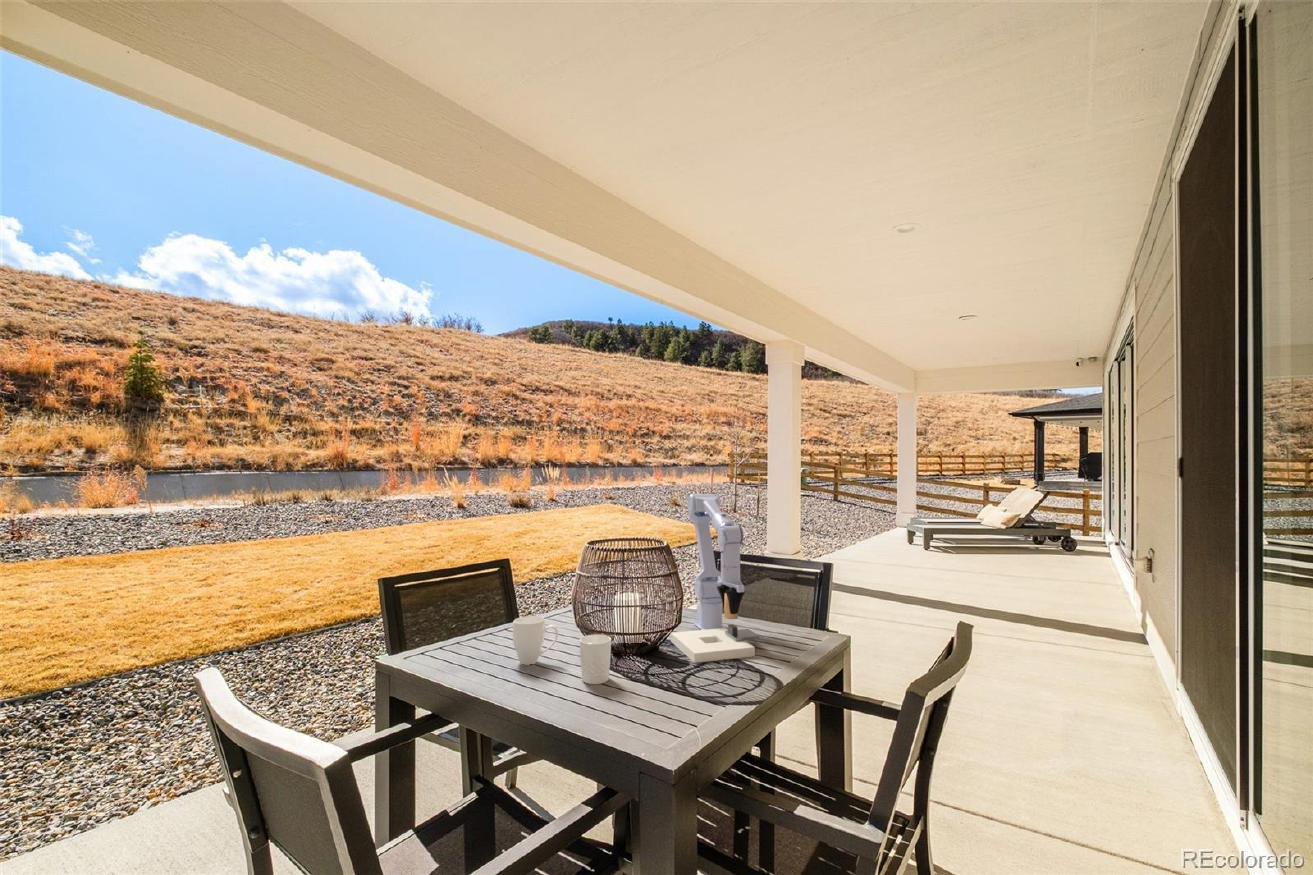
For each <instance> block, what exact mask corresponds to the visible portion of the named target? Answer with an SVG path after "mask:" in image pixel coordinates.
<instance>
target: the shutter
mask: <svg viewBox="0 0 1313 875" xmlns="http://www.w3.org/2000/svg"><path fill="white" fill-rule="evenodd" d="M727 627H728V628H727V629H728V631H725V634H726V635H728V636H729V637H731V638H732V639H734V640H735V641H742V640H745V641H748V640H749V641H750V640H760V639H761V638H760V636H761V635H759V634H758V633H755V632H754V631H752V630H750V629H749V628H743V629H738V626H736V625H735V624H728V625H727Z"/></svg>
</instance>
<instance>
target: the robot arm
mask: <svg viewBox="0 0 1313 875" xmlns="http://www.w3.org/2000/svg"><path fill="white" fill-rule="evenodd" d="M686 504H687V513H688V517H689V518H688V519H689V520H690V521H691V522H693V524H694V529H695V535H696V543H697V549H698V556H699V563H700V570H701V571H700V572H699V573H698V574H696V576H695V578H694V594H695V598H696V599H697V600H698V601H697V604H696V622H694V623H693V625H694V626H696V627H697V628H698V629H699V630H707V629H718V628H726V629H728V628H727V627H725V626H724V625H723V609H724V593H726V594H727V597H728V601H729V609H730V614H739V609H740V606H741V605H740V604H741V601H742V599H743V596H744V595H745V593H746V590H745V585H744V584H743V582H742V580H741V545H742V544H743V542H744V530H743V528H742V526H741V525H740V524H735V523H734V522H733V521H732V519H731V518H730V516H729V515H728V514H727V513H726V512H722V510H721V509H720V505H721V503H720V498H719V495H718V494H717V493H705V494H704V493H701V494H699V493H697V494H693V493H691V494H690V495H688V498H687V503H686ZM710 523H711V525H712V527H713V529H714V530H715V531H716V533H717V541H718V549H719V551H720V570H718V569H717V566H716V559H715V554H714V553H715V552H714V548H713V542H712V541H713V540H712V534H711V529H710ZM729 589H731V590H729Z"/></svg>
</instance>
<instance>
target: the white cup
mask: <svg viewBox="0 0 1313 875" xmlns="http://www.w3.org/2000/svg"><path fill="white" fill-rule="evenodd" d="M611 650H612V638H611V637H610V636H609V635H606V634H588V635H583V636H581V637H580V638H579V655H580V656H579V657H580V658H579V659H580V670H581V681H582V682H583V683H584V682H585V683H584V684H587V683H588V684H589V685H600V684H601V685H602V684H604V683H606V682H608V681H609V680H610V669H611V658H612V657H611V656H612V655H611V653H612V651H611Z"/></svg>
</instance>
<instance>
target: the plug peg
mask: <svg viewBox="0 0 1313 875" xmlns="http://www.w3.org/2000/svg"><path fill="white" fill-rule="evenodd" d="M729 590H731V589H729ZM723 612H724V613H723V618H725V619H727V620H736V619H738V618H739V615H738V614H739V613H738V614H730V609H729V601H728V597H727V594H726V593H724V608H723Z"/></svg>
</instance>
